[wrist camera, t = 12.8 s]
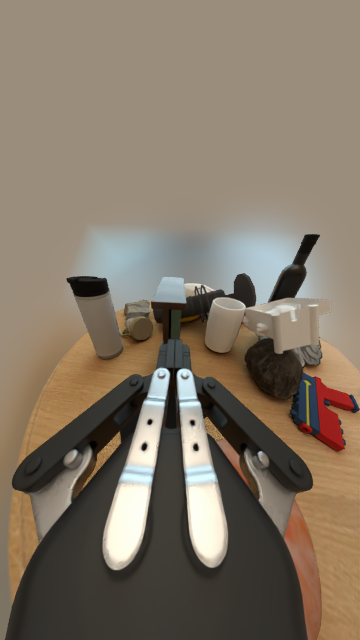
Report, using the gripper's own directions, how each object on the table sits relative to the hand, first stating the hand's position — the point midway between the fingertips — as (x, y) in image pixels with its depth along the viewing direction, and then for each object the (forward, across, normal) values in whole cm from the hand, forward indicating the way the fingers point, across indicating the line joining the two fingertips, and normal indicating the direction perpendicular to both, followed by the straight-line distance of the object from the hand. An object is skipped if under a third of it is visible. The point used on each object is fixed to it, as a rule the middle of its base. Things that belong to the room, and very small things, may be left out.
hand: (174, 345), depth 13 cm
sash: (+13, 0, +11) cm, 18 cm away
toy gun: (-2, -33, +16) cm, 37 cm away
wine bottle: (+29, -35, +17) cm, 49 cm away
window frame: (+10, +1, +17) cm, 20 cm away
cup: (+18, -13, +17) cm, 28 cm away
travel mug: (+15, +17, +17) cm, 29 cm away
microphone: (+29, -22, +4) cm, 37 cm away
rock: (+9, -22, +17) cm, 29 cm away
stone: (+39, +16, +19) cm, 46 cm away
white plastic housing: (+15, -21, +1) cm, 25 cm away
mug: (+23, +12, +17) cm, 31 cm away
